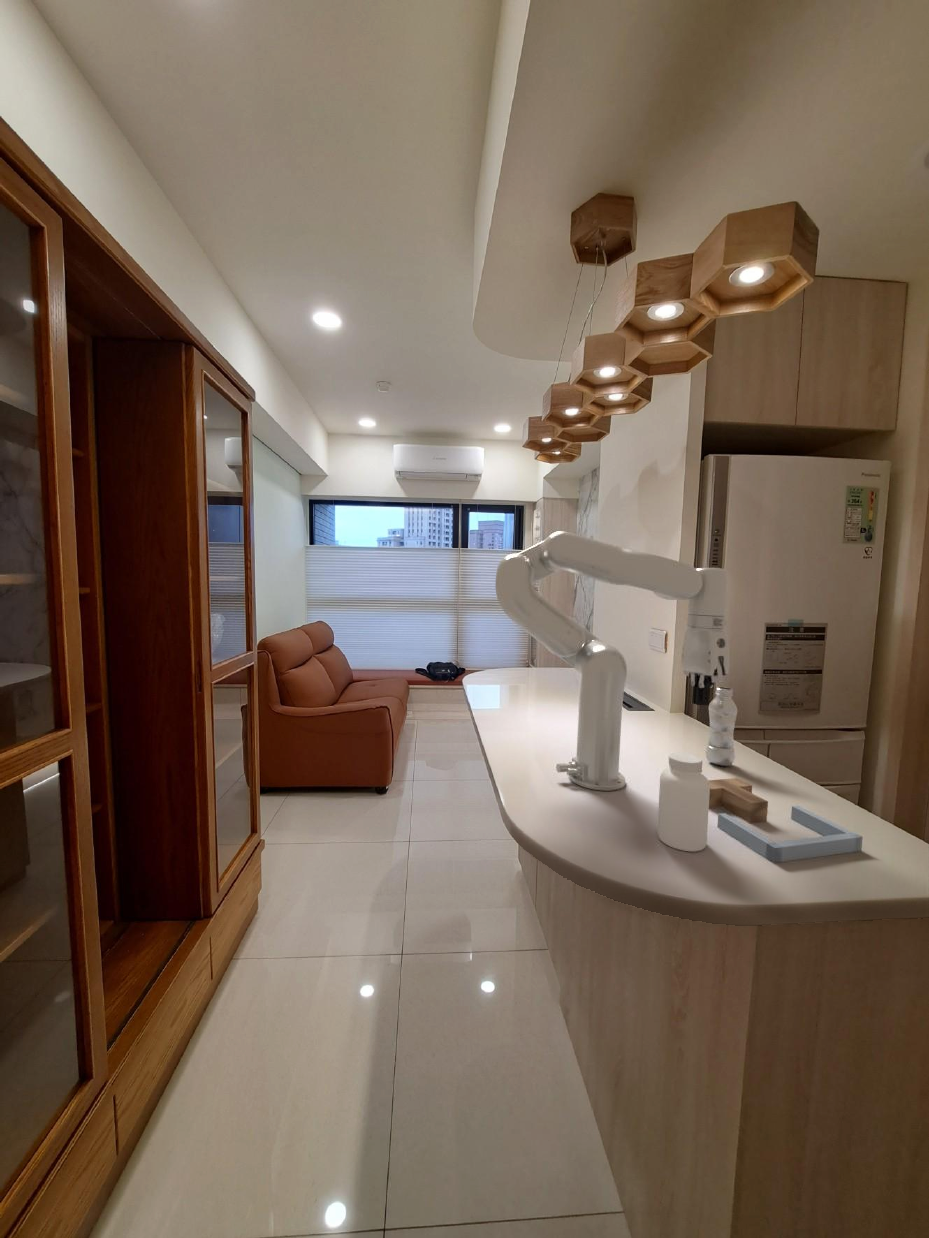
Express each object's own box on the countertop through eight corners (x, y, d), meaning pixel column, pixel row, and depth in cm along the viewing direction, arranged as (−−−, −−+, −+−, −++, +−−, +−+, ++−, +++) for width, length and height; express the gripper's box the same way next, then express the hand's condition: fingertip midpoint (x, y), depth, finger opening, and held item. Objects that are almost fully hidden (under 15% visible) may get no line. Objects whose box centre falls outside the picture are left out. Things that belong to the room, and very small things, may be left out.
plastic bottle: (738, 770, 118) (743, 691, 117) (709, 767, 120) (714, 689, 119) (729, 761, 125) (734, 686, 124) (701, 758, 126) (706, 684, 125)
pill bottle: (649, 828, 87) (654, 748, 86) (693, 830, 87) (699, 750, 86) (666, 851, 79) (672, 764, 78) (715, 854, 79) (721, 767, 78)
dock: (773, 862, 77) (774, 848, 77) (717, 826, 89) (718, 813, 88) (861, 850, 82) (862, 836, 82) (797, 817, 93) (798, 805, 93)
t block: (734, 824, 90) (736, 804, 89) (693, 799, 100) (694, 781, 100) (780, 819, 92) (782, 799, 92) (735, 795, 103) (736, 777, 103)
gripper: (747, 626, 99) (741, 712, 100) (695, 621, 113) (690, 696, 114) (717, 625, 97) (711, 713, 98) (668, 620, 111) (664, 697, 113)
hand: (700, 704), depth 106 cm, fingers closed
